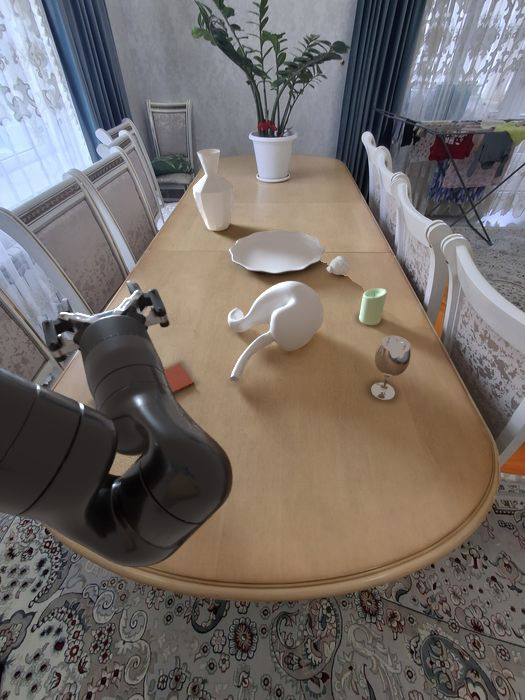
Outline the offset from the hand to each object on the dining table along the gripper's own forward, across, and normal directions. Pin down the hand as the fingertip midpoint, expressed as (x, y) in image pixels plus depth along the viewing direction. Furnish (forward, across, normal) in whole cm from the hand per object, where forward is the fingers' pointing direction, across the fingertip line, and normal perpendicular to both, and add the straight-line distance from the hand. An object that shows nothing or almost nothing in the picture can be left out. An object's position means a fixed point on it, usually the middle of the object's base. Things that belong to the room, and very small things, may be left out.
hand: (99, 295), depth 49 cm
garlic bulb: (+22, -60, +26) cm, 69 cm away
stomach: (+5, -31, +26) cm, 41 cm away
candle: (+1, -54, +26) cm, 60 cm away
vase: (+74, -46, +26) cm, 91 cm away
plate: (+42, -52, +26) cm, 72 cm away
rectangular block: (+5, -1, +26) cm, 27 cm away
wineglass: (-18, -41, +26) cm, 52 cm away
